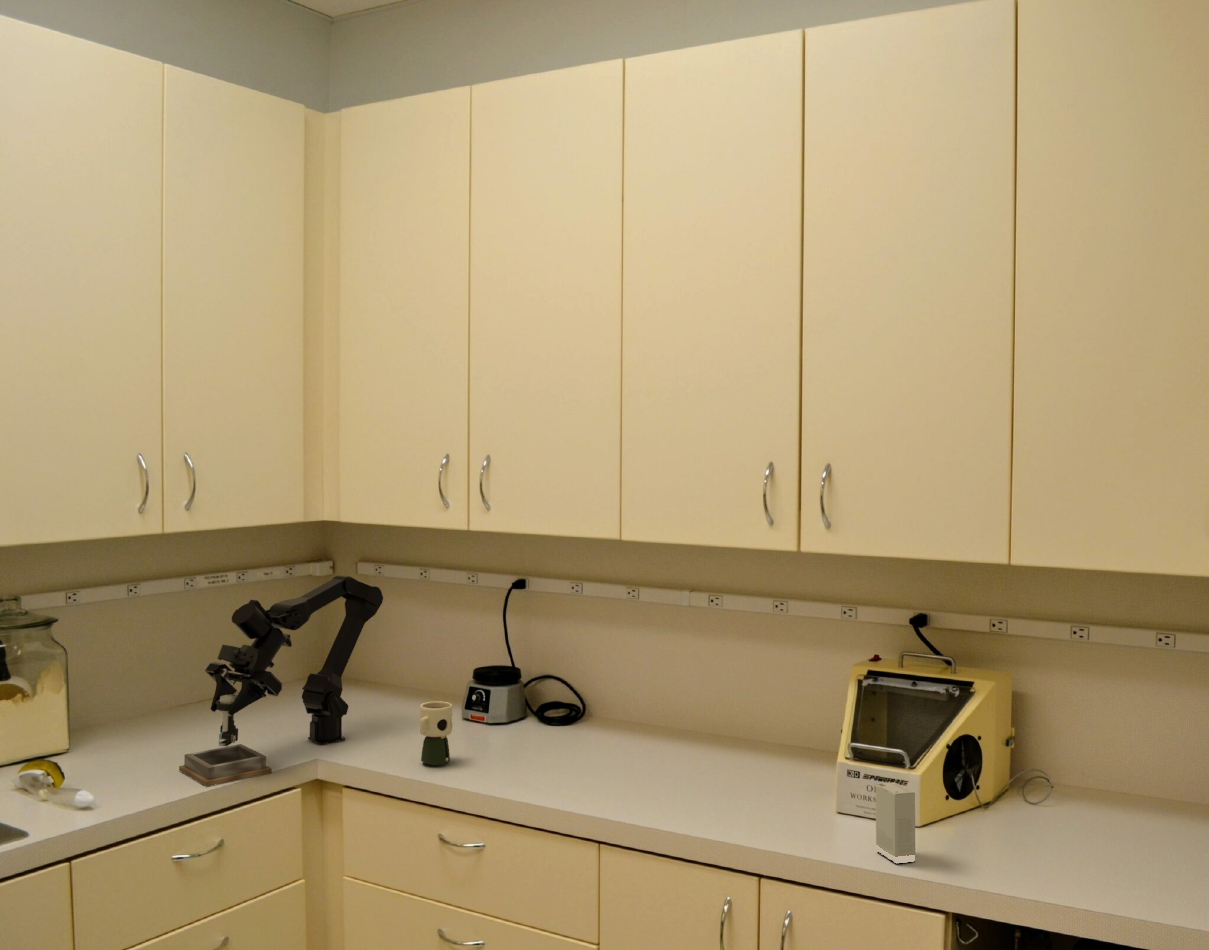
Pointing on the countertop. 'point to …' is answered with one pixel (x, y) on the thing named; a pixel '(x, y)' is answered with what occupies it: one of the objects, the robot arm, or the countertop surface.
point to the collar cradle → (224, 765)
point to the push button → (227, 721)
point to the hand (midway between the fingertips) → (220, 712)
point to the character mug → (435, 731)
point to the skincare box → (895, 819)
